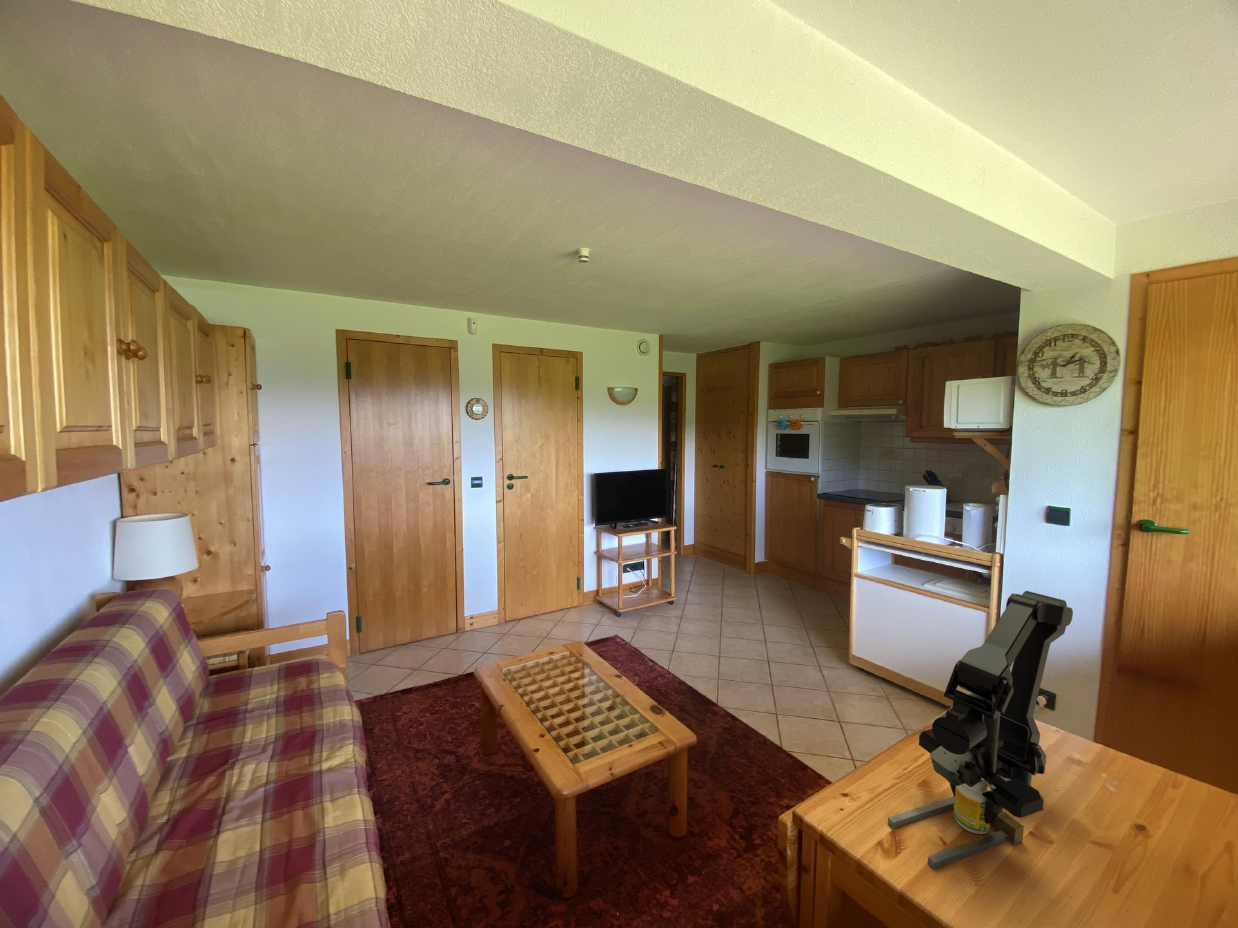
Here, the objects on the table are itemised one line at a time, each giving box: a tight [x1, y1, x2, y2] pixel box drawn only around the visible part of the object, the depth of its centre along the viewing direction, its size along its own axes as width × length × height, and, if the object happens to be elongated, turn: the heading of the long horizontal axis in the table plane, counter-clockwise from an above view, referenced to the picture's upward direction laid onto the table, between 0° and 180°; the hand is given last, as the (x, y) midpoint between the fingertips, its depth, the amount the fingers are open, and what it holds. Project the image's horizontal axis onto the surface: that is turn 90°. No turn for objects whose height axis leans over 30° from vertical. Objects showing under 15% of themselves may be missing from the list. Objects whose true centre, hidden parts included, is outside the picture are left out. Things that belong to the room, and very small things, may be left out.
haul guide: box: [887, 796, 1025, 870], centre depth 87 cm, size 19×11×3 cm, turn 107°
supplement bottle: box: [953, 779, 991, 835], centre depth 88 cm, size 5×5×10 cm
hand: (972, 810), depth 89 cm, fingers closed on supplement bottle, 5 cm apart
